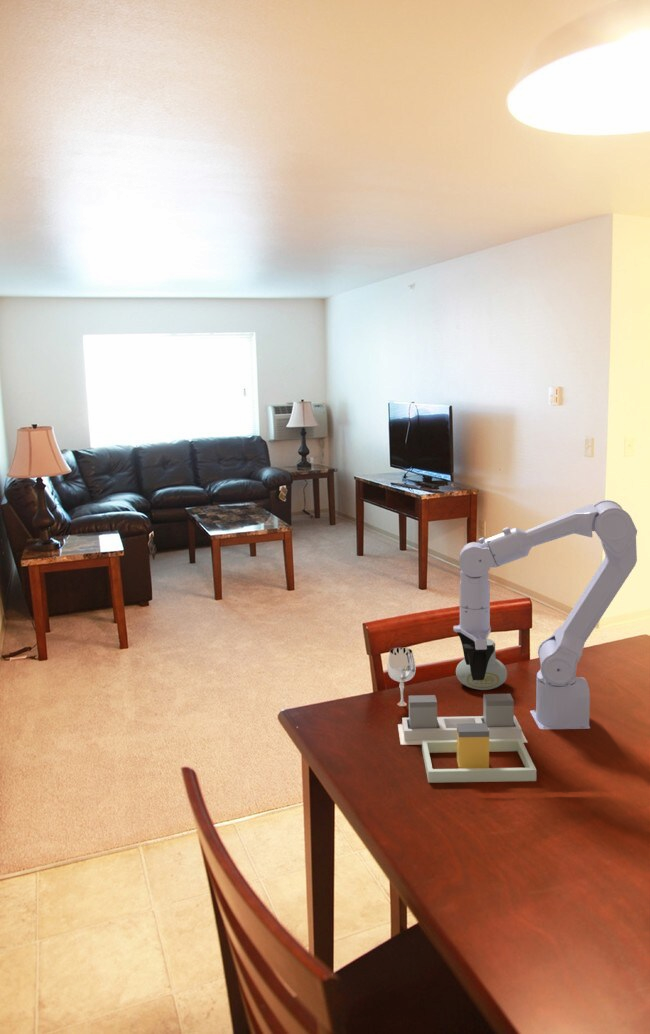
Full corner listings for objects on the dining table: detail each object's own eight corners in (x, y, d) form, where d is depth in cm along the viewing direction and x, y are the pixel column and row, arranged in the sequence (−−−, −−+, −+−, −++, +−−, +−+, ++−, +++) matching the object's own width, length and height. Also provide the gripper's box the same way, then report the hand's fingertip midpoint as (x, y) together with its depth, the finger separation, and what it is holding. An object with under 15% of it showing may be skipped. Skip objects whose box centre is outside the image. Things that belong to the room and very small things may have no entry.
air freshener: (456, 692, 153) (456, 648, 151) (455, 677, 161) (455, 635, 159) (508, 693, 151) (509, 649, 149) (504, 678, 159) (505, 635, 157)
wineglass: (415, 700, 149) (415, 646, 147) (416, 713, 144) (415, 656, 142) (388, 700, 150) (387, 646, 148) (388, 712, 144) (386, 656, 142)
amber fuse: (485, 760, 124) (485, 723, 122) (489, 769, 121) (489, 731, 119) (456, 761, 124) (456, 723, 123) (459, 770, 121) (459, 731, 120)
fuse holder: (517, 725, 137) (517, 712, 137) (527, 745, 129) (527, 732, 129) (397, 727, 138) (397, 714, 138) (400, 747, 130) (400, 734, 130)
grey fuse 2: (509, 728, 135) (510, 693, 133) (513, 736, 132) (513, 700, 130) (483, 728, 135) (483, 694, 134) (486, 736, 132) (486, 701, 131)
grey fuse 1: (435, 729, 135) (435, 695, 134) (437, 737, 132) (437, 702, 131) (409, 730, 135) (408, 695, 134) (410, 737, 132) (409, 702, 131)
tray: (520, 751, 127) (521, 738, 127) (536, 784, 117) (536, 770, 116) (422, 753, 128) (421, 740, 127) (428, 785, 117) (428, 771, 117)
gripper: (448, 594, 145) (449, 658, 147) (459, 617, 130) (459, 687, 133) (483, 593, 144) (483, 657, 147) (498, 616, 130) (497, 686, 132)
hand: (474, 671), depth 140 cm, fingers open, 7 cm apart
